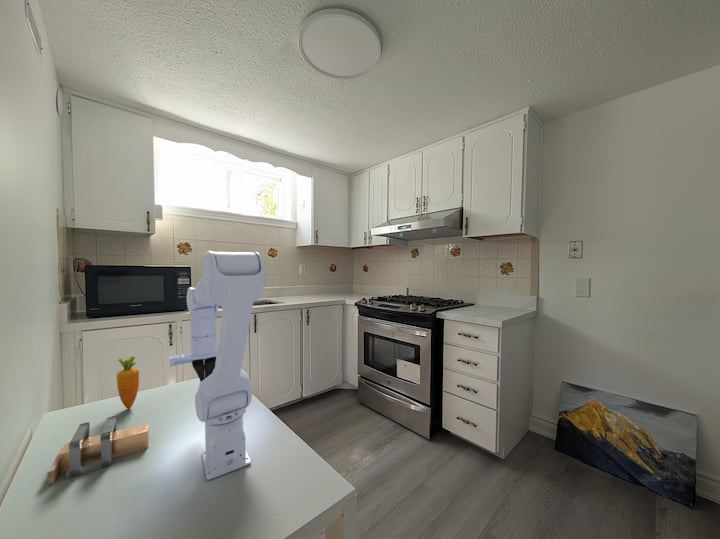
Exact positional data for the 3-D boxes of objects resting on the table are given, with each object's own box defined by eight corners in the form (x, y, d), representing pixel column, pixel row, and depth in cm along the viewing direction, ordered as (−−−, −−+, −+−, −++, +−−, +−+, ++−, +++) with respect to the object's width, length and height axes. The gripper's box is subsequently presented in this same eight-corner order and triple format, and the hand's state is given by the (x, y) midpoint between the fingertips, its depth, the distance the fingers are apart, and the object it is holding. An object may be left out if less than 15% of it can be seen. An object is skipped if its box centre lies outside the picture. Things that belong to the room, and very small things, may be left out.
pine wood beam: (148, 448, 63) (147, 431, 63) (59, 474, 56) (58, 454, 56) (149, 439, 67) (149, 422, 67) (66, 462, 59) (65, 443, 59)
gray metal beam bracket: (111, 465, 58) (110, 433, 58) (66, 479, 54) (65, 445, 54) (117, 443, 65) (116, 415, 65) (77, 454, 61) (76, 425, 61)
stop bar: (54, 482, 53) (53, 470, 53) (48, 484, 53) (47, 472, 53) (67, 457, 60) (66, 446, 60) (61, 459, 60) (61, 448, 60)
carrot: (112, 411, 79) (111, 358, 78) (131, 403, 84) (130, 352, 83) (125, 414, 77) (124, 359, 77) (144, 405, 82) (142, 354, 82)
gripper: (231, 328, 79) (232, 376, 79) (168, 335, 71) (170, 390, 71) (237, 333, 73) (238, 385, 73) (169, 342, 65) (170, 401, 65)
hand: (204, 388), depth 72 cm, fingers closed
